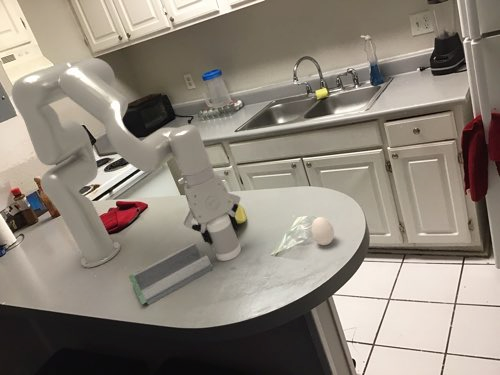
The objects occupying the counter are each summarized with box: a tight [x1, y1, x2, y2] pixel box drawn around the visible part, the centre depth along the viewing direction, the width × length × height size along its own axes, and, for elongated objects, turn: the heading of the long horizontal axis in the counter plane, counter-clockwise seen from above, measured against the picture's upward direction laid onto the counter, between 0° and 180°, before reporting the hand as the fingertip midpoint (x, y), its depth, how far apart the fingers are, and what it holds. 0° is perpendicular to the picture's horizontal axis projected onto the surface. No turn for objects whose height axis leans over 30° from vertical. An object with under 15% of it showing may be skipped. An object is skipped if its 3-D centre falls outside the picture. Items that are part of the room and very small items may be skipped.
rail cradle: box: [128, 242, 214, 306], centre depth 112 cm, size 12×19×4 cm, turn 116°
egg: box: [310, 216, 335, 246], centre depth 104 cm, size 5×5×7 cm
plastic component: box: [231, 199, 247, 224], centre depth 128 cm, size 20×7×10 cm
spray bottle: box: [205, 212, 242, 262], centre depth 111 cm, size 7×7×18 cm
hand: (222, 235), depth 112 cm, fingers closed on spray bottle, 6 cm apart
